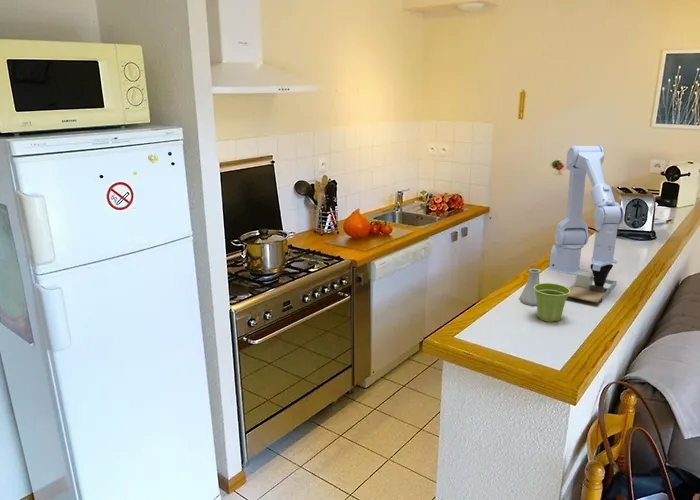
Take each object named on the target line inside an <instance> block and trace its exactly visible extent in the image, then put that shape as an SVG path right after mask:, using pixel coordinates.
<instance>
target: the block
mask: <svg viewBox="0 0 700 500" xmlns="http://www.w3.org/2000/svg"><path fill="white" fill-rule="evenodd" d="M575 276H576V277H575V283H576V285H575V286H576V287H581V288H586V289H590V287H591V285H592V283H593V277H594V276H593V272H588V271H583V270H581V271H580V272H579V273H578V274H577V275H575Z"/></svg>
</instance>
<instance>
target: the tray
mask: <svg viewBox="0 0 700 500" xmlns="http://www.w3.org/2000/svg"><path fill="white" fill-rule="evenodd" d="M575 285H576V282H575V283H574V284H573V285H572V286H575ZM592 285H595V284H594V276H593V283H592ZM616 285H617V280H611V279H608V278H606V281H605V284H604V286H603V287H604V292H606V294H605V295H604V296H603V297H602V298H601V300H600V301H599V302H598V303H602V302H604V300H605V299H606V298H607V297H608V295H609V294H610V293H611V292H612V290H614V288H615V287H616Z"/></svg>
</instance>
